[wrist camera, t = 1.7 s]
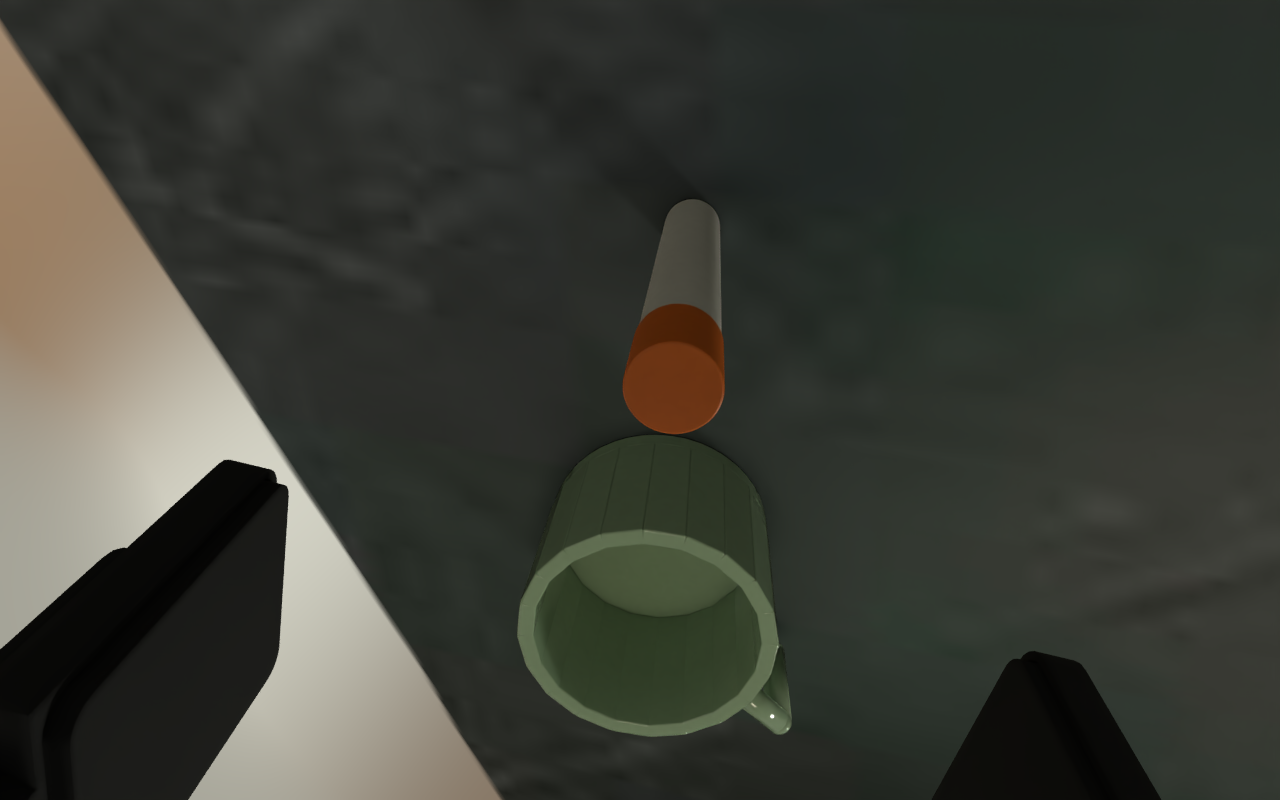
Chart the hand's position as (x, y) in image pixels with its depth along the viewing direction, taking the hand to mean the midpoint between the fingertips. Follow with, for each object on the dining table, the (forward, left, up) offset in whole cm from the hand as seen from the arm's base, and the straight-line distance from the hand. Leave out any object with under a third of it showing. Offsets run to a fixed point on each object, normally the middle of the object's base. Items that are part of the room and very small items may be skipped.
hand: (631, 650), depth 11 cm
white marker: (0, 0, -22) cm, 22 cm away
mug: (+13, +3, -22) cm, 26 cm away
